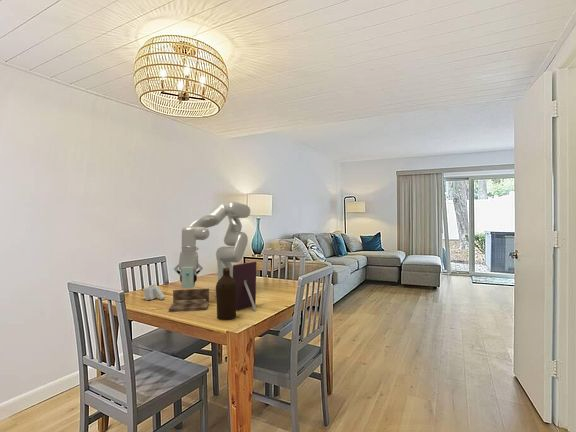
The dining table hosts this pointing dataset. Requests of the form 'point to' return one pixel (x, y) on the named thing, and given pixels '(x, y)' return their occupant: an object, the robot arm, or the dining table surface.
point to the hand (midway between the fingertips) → (188, 282)
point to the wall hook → (153, 292)
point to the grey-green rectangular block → (188, 277)
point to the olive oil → (226, 296)
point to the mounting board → (190, 300)
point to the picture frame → (245, 285)
